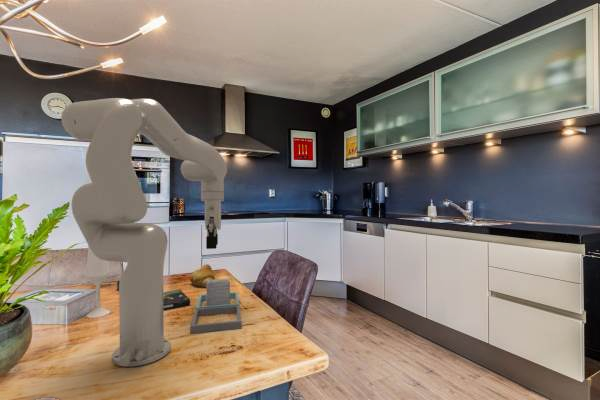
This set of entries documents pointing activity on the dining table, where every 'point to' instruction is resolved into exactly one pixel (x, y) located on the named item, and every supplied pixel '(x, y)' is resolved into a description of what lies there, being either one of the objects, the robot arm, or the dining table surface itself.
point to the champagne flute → (97, 280)
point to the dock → (212, 311)
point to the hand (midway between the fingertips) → (212, 246)
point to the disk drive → (175, 300)
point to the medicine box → (218, 292)
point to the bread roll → (202, 276)
